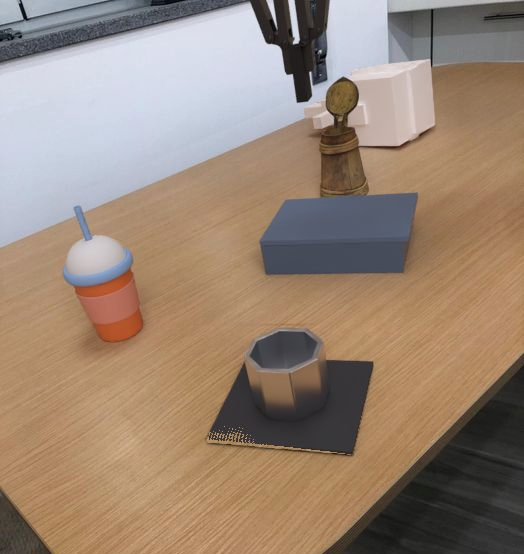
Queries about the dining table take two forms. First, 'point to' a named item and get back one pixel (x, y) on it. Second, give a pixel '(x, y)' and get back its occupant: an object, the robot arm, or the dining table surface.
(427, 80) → the blocky voxel creature
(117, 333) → the cup with straw
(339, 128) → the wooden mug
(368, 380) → the mat
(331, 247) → the blue storage box
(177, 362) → the dining table surface
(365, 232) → the lid
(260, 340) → the octagonal metal cup
